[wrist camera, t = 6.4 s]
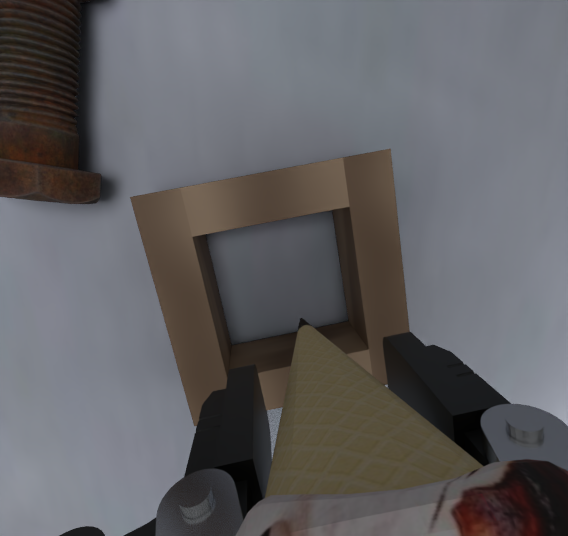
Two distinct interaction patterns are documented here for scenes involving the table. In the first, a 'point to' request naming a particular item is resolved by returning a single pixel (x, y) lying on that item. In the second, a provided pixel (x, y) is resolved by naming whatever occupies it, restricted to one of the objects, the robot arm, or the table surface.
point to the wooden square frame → (261, 209)
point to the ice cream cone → (387, 465)
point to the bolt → (41, 103)
